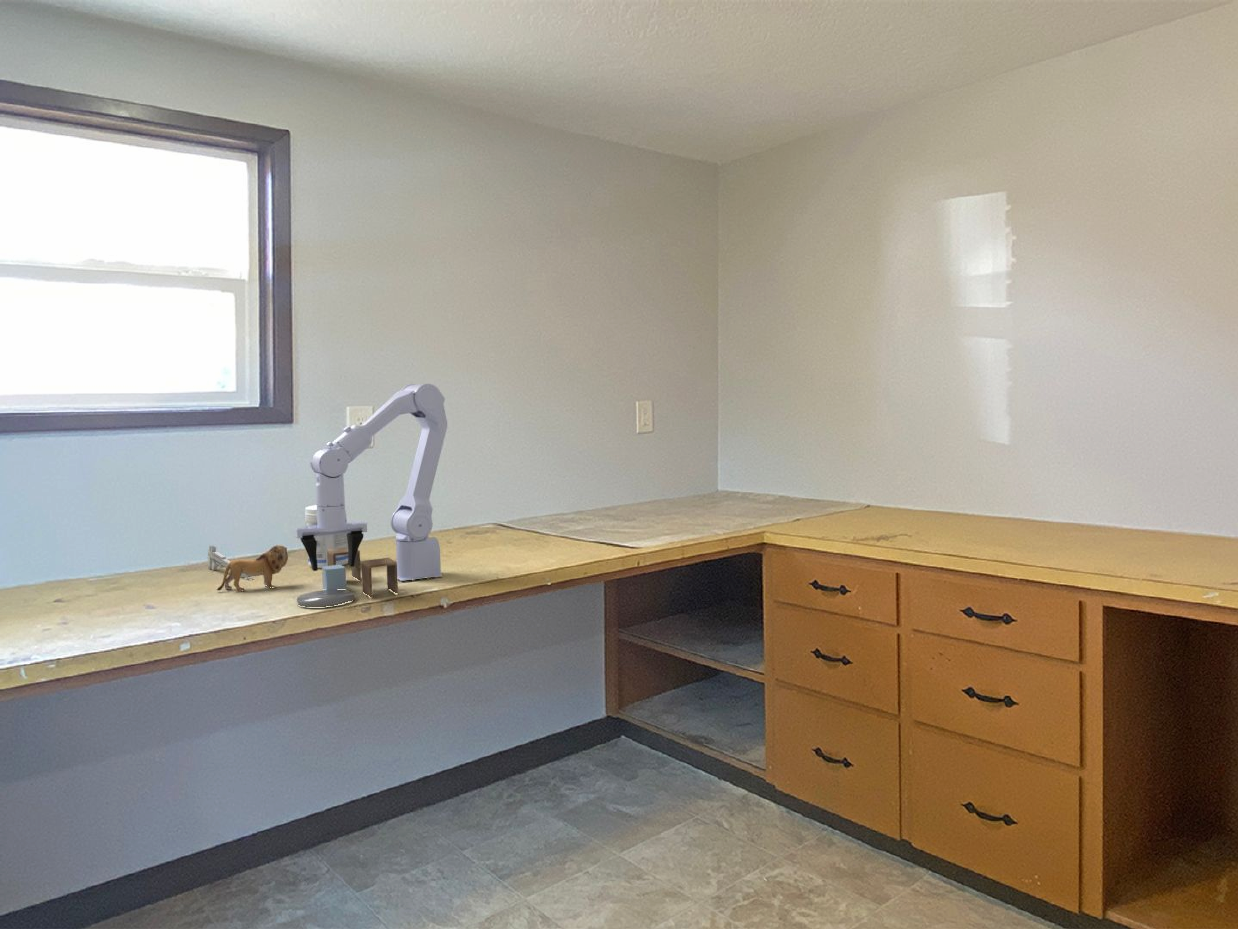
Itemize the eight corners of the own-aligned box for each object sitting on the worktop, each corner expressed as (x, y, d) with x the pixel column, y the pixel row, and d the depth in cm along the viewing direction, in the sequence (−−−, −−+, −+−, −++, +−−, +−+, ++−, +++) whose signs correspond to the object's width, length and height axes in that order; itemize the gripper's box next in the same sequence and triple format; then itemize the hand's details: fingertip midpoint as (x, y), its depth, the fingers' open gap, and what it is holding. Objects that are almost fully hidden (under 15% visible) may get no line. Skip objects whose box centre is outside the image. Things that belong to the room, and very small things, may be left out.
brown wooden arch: (354, 576, 195) (353, 546, 195) (360, 581, 190) (359, 550, 190) (328, 580, 192) (326, 549, 192) (334, 584, 187) (333, 553, 187)
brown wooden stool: (389, 590, 182) (388, 557, 181) (398, 595, 177) (396, 562, 176) (362, 593, 179) (361, 561, 178) (370, 599, 174) (368, 565, 173)
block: (341, 587, 185) (340, 564, 185) (346, 590, 182) (345, 567, 182) (322, 589, 183) (321, 566, 183) (327, 593, 180) (326, 570, 179)
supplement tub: (344, 559, 216) (341, 502, 214) (353, 566, 207) (350, 506, 206) (304, 564, 211) (301, 505, 209) (311, 571, 202) (309, 510, 201)
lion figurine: (287, 581, 191) (285, 542, 190) (291, 586, 187) (289, 546, 186) (215, 590, 184) (213, 549, 183) (218, 595, 179) (215, 553, 178)
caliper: (208, 570, 206) (206, 545, 206) (212, 569, 207) (211, 544, 206) (250, 581, 193) (248, 554, 193) (254, 580, 194) (253, 553, 194)
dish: (346, 592, 180) (346, 587, 179) (360, 603, 170) (360, 597, 170) (292, 600, 174) (292, 594, 174) (303, 611, 164) (303, 605, 164)
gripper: (360, 500, 188) (362, 561, 189) (291, 505, 181) (294, 568, 182) (368, 504, 182) (371, 566, 183) (298, 509, 175) (300, 574, 176)
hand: (333, 568), depth 182 cm, fingers open, 7 cm apart
